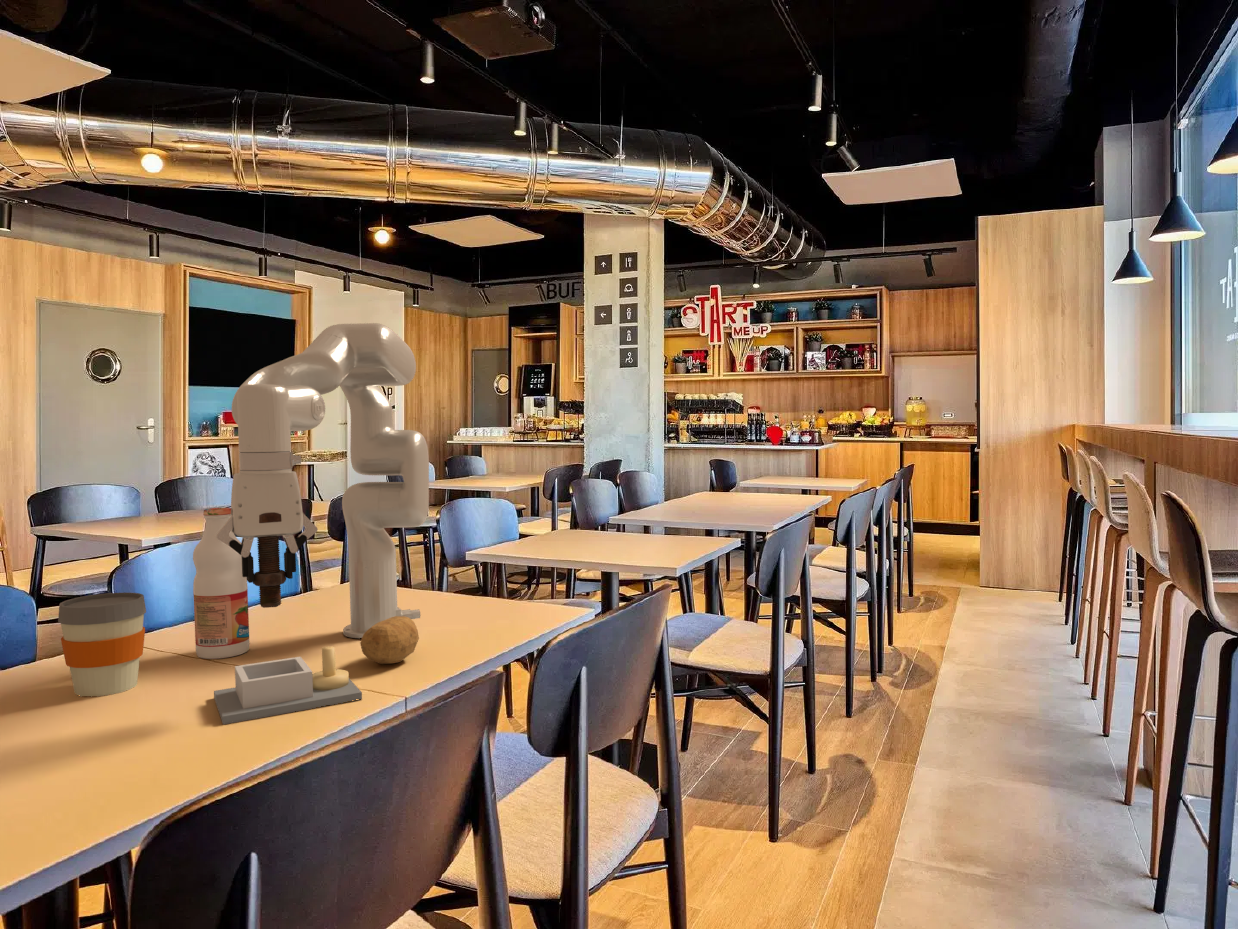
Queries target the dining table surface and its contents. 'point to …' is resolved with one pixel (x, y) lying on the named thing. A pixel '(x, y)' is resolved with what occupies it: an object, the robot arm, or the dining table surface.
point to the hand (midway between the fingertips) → (269, 578)
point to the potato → (390, 640)
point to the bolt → (269, 566)
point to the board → (284, 688)
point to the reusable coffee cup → (103, 641)
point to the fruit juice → (219, 593)
